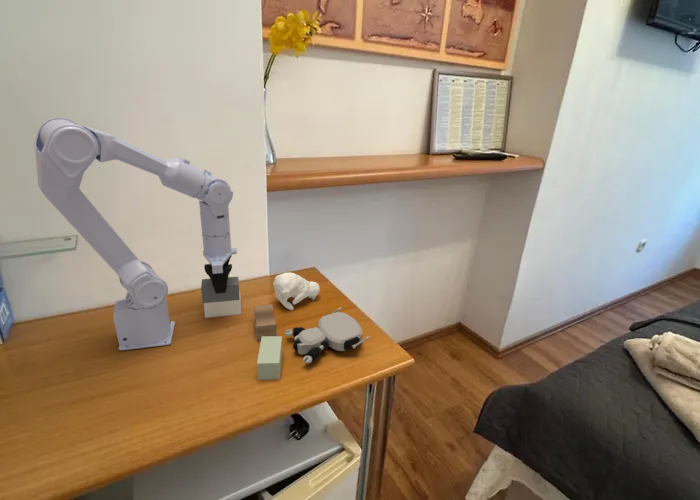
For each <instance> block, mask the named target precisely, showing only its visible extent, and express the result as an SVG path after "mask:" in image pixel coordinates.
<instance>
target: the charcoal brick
mask: <svg viewBox="0 0 700 500" xmlns="http://www.w3.org/2000/svg"><path fill="white" fill-rule="evenodd" d="M239 283H240V282H239V276H228V280H227V288H226V292H225V293H216V292H215V290H214V287H213V284H212V281H211V279H210V278H202V279H201V285H200V289H201V300H202V304H204V303H212V302H223V301H233V300H240V299H241V295H240V296H239V291H240V284H239Z"/></svg>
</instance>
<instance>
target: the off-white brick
mask: <svg viewBox="0 0 700 500" xmlns="http://www.w3.org/2000/svg"><path fill="white" fill-rule="evenodd" d="M239 296H240V297H241V291H240V290H239ZM203 309H204V310H203V312H204V318H205V319H206V318H207V319H208V318H217V317H226V316H235V315H242V301H241V298H240V300H233V301H223V302H212V303H203Z"/></svg>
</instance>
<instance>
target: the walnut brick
mask: <svg viewBox="0 0 700 500" xmlns="http://www.w3.org/2000/svg"><path fill="white" fill-rule="evenodd" d="M253 312H254V323H255V324H254V326H255V333H256V342H257V343H259V342H261V338H262V336H277V322H276V316H275V313H274V307H273V304H271V303H270V304H264V305H263V304H262V305H254V306H253Z"/></svg>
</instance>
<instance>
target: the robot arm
mask: <svg viewBox="0 0 700 500" xmlns="http://www.w3.org/2000/svg"><path fill="white" fill-rule="evenodd" d="M33 145H34V152H35V161H36V171H37V172H36V174H37V185H38V188H39V190H40V191H41V193H42V194H43V196H44V197H46V199H47V200H48V201H49V202H50V203H51V205H52V206H53V207H54V208H55V209H56V210H57V211H58V212H59V213H60V214H61V215H62V216H63V217H64V218H65V219H66V221H68V223H69V224H70V225H71V226H72V227H73V228H74V229H75V230H76V231H77V232H78V233H79V235H81V237H82V238H83V239H84V240H85V241H86V242H87V243H88V244H89V245H90V247H92V249H93V250H94V251H96V253H97V254H98V255H99V256H100V257H101V259H103V261H104V262H105V263H106V264H107V265H108V266H109V267H110V268H111V269H112V270H113V272H114V273H116V275H117V276H118V280H119V283H120V285H121V286H122V287H123V288H124V289H125V290H126V291H127V293H126V296H125V299H119V300H117V301H116V302H115V303H114V307H113V323H114V327H115V328H114V329H115V332H116V337H117V341H118V345H119V346H118V351H128V350H135V349H138V350H139V349H145V348H151V347H152V348H153V347H161V346H169V345H171V344H172V341H173V336H174V330H175V326H176V322H175V321H174V320H173V321H172V320H171V321H170V315H169V308H168V301H167V296H168V293H169V286H168V284H167V282H166V281H165V280H164V279H163V278H161V277H160V276H159V275H158V274H157V273H156V272H155V271H154V269H153V268H152V265H150V264H149V263H147V262H145V261H142V260H140V259H139V257H138V256H137V255H136V254H135V253H134V252H133V251H132V249H130V247H129V246H128V245H127V244H126V242H125V240H123V239H122V238H121V237H120V235H119V234H118V233H117V232H116V231H115V229H114V228H113V227H112V226H111V225H110V223H109V222H108V221H107V220H106V219H105V218H104V216H103V215H102V214H101V212H100V211H98V209H97V208H96V207H95V206H94V205H93V203H92V202H91V201H90V200H89V199H88V197H87V196H86V195H85V194H84V193H83V192H82V190H81V189H80V186H81V183H82V180H83V178H84V177H83V176H84V173H86V170H87V169H88V168H89V167H90V166H91V165H92V164H93V163H94V162H95V160H97V162H100V163H105V162H109V161H114V160H117V161H120V162H121V163H124V164H127V165H130V166H133V167H135V168H138V169H141V170H143V171H145V172H147V173H151V174H152V175H156V176H158V178H159V180H160V182H161V184H162V186H164V187H166V188H169V189H171V190H173V191H176V192H178V193H181V194H183V195H186V196H188V197H190V198H193V199H197V200H199V202H198V203H199V215H200V226H201V235H202V244H203V251H202V253H203V257H204V259H206V261H207V262H208V263H207V264H206V263H205V264H204V266H203V267H204V268H203V269H204V272H205V273H206V275H207V276H208V277H209V279H211V281H212V284H213V287H214V290H215V292H216V293H225V292H226V288H227V280H228V277H230V276H229V275H230V273H231V272H232V269H233V264H232V263H230V260H231V258H232V255H237V253H238V249H237V248H236V247H232V240H231V239H232V238H231V227H230V225H231V224H230V212H229V205H230V204H231V201H232V199H233V197H234V196H233V195H234V192H233V191H232V189H231V187H230V185H229V183H228V182H226V181H225V180H224V179H222V178H219V177H218V176H215V175H213V174H212V172H211V171H209V170H208V169H204V170H202V169H200V168H198V167H196V166H194V165H192V164H190V163H191V160H188V159H187V158H184V157H181V158H180V159H179V158H177V157H172V158H169V159H165V160H164V159H162V158H160V157H158V156H156V155H154V154H152V153H150V152H148V151H147V150H144V149H142V148H140V147H138V146H137V145H133V144H132V143H129V142H128V141H126V140H124V139H123V138H120V137H117V136H115V135H113V134H111V133H108V132H107V131H102V130H100V129H97V128H93V127H91V126H87V125H84V124H82V125H79V124H78V123H76V122H75V121H73V120H70V118H69V119H68V118H64V117H52V118H50V119H47V120H46V121H44V122H43V123H42V124H41V125H40V126H39V129H38V131H37V134H36V137H35V139H34V142H33Z"/></svg>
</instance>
